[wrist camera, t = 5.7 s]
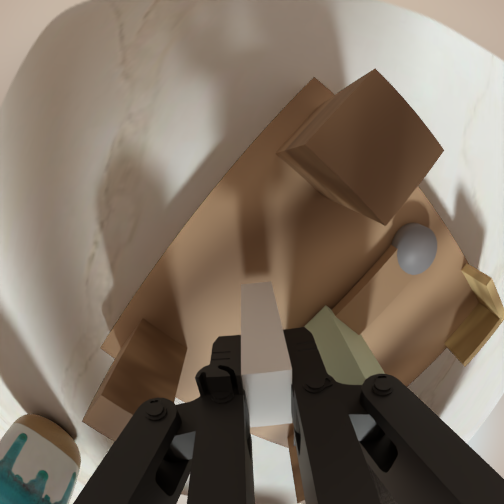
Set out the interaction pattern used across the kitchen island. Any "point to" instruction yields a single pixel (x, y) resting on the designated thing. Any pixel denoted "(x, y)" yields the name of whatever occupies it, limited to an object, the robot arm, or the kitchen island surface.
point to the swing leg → (369, 305)
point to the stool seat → (301, 254)
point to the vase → (37, 463)
